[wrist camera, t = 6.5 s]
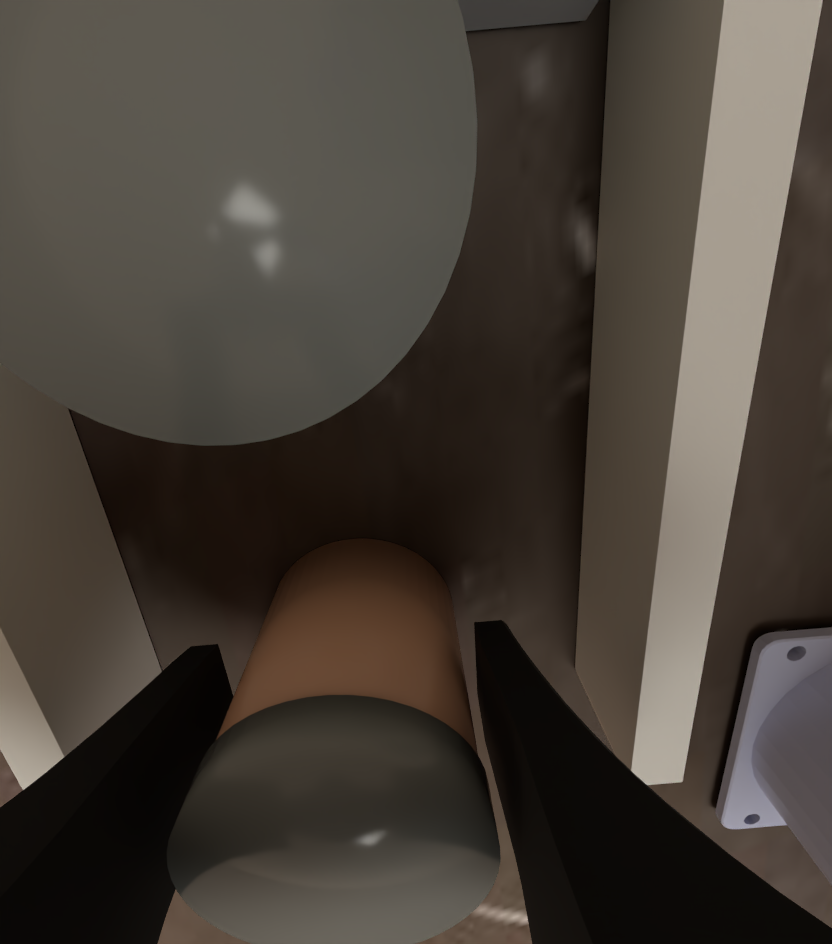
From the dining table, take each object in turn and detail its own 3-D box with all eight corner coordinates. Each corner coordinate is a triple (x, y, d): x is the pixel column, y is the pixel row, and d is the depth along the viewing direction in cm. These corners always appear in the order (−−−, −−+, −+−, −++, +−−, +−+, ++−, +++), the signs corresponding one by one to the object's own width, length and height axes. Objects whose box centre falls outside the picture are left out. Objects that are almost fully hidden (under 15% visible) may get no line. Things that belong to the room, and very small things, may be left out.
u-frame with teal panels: (704, -303, 7) (973, -836, 4) (615, 666, 14) (682, 781, 10) (-236, -218, 7) (-795, -668, 4) (133, 706, 14) (48, 835, 10)
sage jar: (423, 69, 9) (463, -375, 3) (441, 355, 10) (485, 422, 5) (144, 94, 9) (-349, -296, 3) (211, 375, 10) (-13, 467, 5)
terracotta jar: (456, 530, 12) (507, 745, 6) (456, 681, 14) (495, 946, 8) (254, 540, 12) (126, 765, 6) (283, 690, 14) (205, 965, 8)
